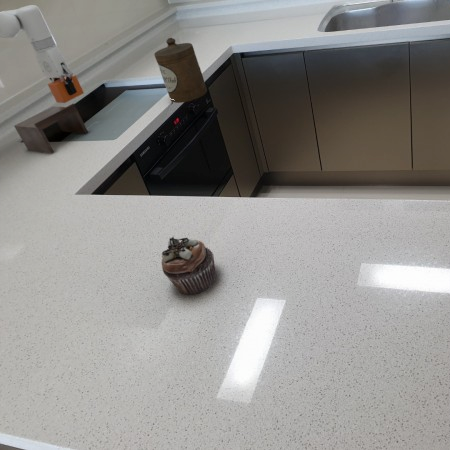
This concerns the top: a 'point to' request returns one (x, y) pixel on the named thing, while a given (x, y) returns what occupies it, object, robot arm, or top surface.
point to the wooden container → (180, 71)
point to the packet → (64, 90)
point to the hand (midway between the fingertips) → (68, 93)
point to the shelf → (34, 125)
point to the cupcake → (189, 265)
